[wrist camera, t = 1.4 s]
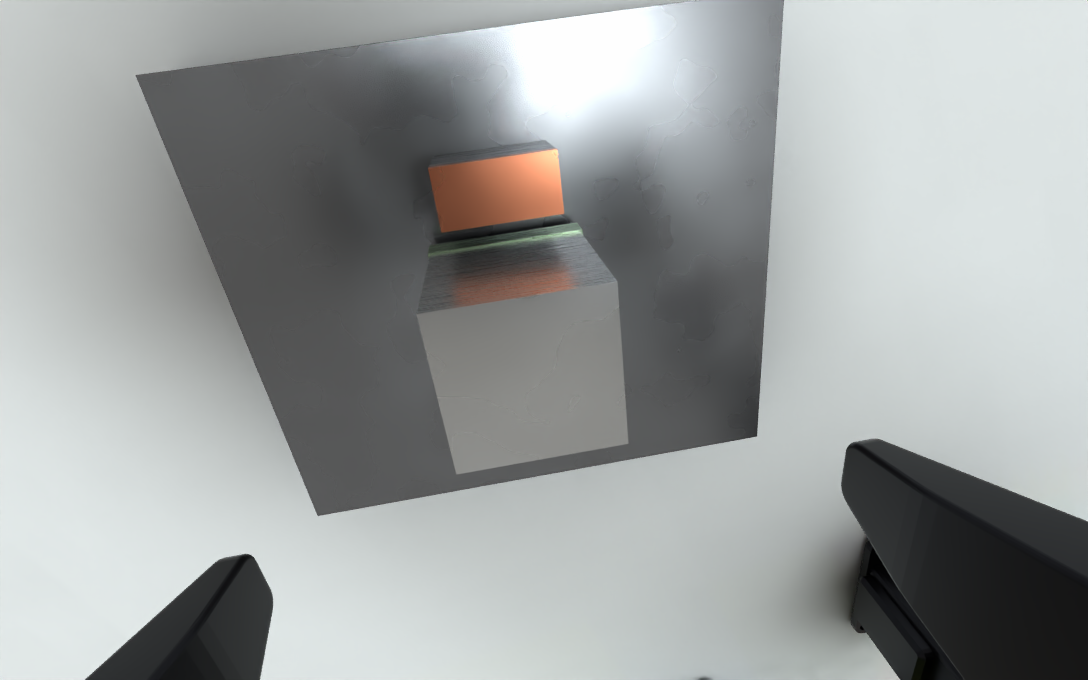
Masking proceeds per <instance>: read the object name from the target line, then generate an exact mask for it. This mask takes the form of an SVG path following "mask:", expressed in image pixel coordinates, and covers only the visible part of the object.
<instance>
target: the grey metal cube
mask: <svg viewBox="0 0 1088 680" xmlns="http://www.w3.org/2000/svg"><path fill="white" fill-rule="evenodd" d="M428 257H429V262H428V266H427V270H426V275H425V279H424V283H423V288H422V292H421V296H420V301H419V305H418V309H417V314H416V315H417V319H418V323H419V327H420V331H421V335H422V339H423V343H424V347H425V351H426V355H427V359H428V363H429V367H430V371H431V375H432V379H433V383H434V387H435V391H436V395H437V399H438V403H439V407H440V411H441V415H442V419H443V423H444V427H445V431H446V435H447V439H448V443H449V447H450V451H451V455H452V459H453V463H454V467H455V471H456V475H457V474H462V473H468V472H474V471H479V470H485V469H490V468H496V467H501V466H507V465H513V464H518V463H524V462H529V461H535V460H540V459H546V458H552V457H557V456H563V455H568V454H574V453H579V452H585V451H591V450H596V449H602V448H607V447H613V446H618V445H624V444H628V430H627V415H626V401H625V386H624V371H623V357H622V342H621V327H620V313H619V298H618V283H617V280H616V279H615V278H614V276H613V275H612V274H611V272H610V271H609V270H608V268H607V267H606V265H605V264H604V263H603V261H602V260H601V259H600V257H599V256H598V255H597V253H596V252H595V250H594V249H593V248H592V246H591V245H590V244H589V242H588V241H587V240H586V238H585V237H584V235H583V231H582V228H581V227H580V226H579V224H578V223H577V222H576V223H569V224H563V225H556V226H550V227H543V228H537V229H530V230H524V231H518V232H511V233H505V234H498V235H492V236H485V237H479V238H473V239H466V240H460V241H453V242H447V243H440V244H434V245H430V246H429V250H428Z"/></svg>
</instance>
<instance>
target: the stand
mask: <svg viewBox="0 0 1088 680" xmlns="http://www.w3.org/2000/svg"><path fill="white" fill-rule="evenodd" d="M783 5H784V0H695V1H687V2H680V3H672V4H665V5H657V6H650V7H642V8H635V9H627V10H620V11H613V12H605V13H598V14H590V15H583V16H575V17H568V18H560V19H553V20H545V21H538V22H530V23H523V24H515V25H508V26H500V27H493V28H486V29H478V30H471V31H463V32H456V33H448V34H441V35H433V36H426V37H418V38H411V39H403V40H396V41H388V42H381V43H374V44H366V45H359V46H351V47H344V48H336V49H329V50H321V51H314V52H306V53H299V54H291V55H284V56H276V57H269V58H262V59H254V60H247V61H239V62H232V63H224V64H217V65H209V66H202V67H194V68H187V69H179V70H172V71H164V72H157V73H150V74H142V75H136V77H137V80H138V82H139V84H140V87H141V89H142V92H143V94H144V97H145V99H146V101H147V104H148V106H149V109H150V111H151V114H152V116H153V118H154V121H155V123H156V126H157V128H158V130H159V133H160V135H161V138H162V140H163V143H164V145H165V147H166V150H167V152H168V155H169V157H170V159H171V162H172V164H173V167H174V169H175V172H176V174H177V176H178V179H179V181H180V184H181V186H182V189H183V191H184V193H185V196H186V198H187V201H188V203H189V205H190V208H191V210H192V213H193V215H194V218H195V220H196V222H197V225H198V227H199V230H200V232H201V234H202V237H203V239H204V242H205V244H206V247H207V249H208V251H209V254H210V256H211V259H212V261H213V264H214V266H215V268H216V271H217V273H218V276H219V278H220V280H221V283H222V285H223V288H224V290H225V293H226V295H227V297H228V300H229V302H230V305H231V307H232V309H233V312H234V314H235V317H236V319H237V322H238V324H239V326H240V329H241V331H242V334H243V336H244V338H245V341H246V343H247V346H248V348H249V351H250V353H251V355H252V358H253V360H254V363H255V365H256V368H257V370H258V372H259V375H260V377H261V380H262V382H263V384H264V387H265V389H266V392H267V394H268V397H269V399H270V401H271V404H272V406H273V409H274V411H275V413H276V416H277V418H278V421H279V423H280V426H281V428H282V430H283V433H284V435H285V438H286V440H287V443H288V445H289V447H290V450H291V452H292V455H293V457H294V459H295V462H296V464H297V467H298V469H299V472H300V474H301V476H302V479H303V481H304V484H305V486H306V488H307V491H308V493H309V496H310V498H311V501H312V503H313V505H314V508H315V510H316V513H317V515H318V516H320V515H326V514H331V513H337V512H342V511H348V510H353V509H359V508H364V507H370V506H375V505H381V504H386V503H392V502H397V501H403V500H408V499H414V498H420V497H425V496H431V495H436V494H442V493H447V492H453V491H458V490H464V489H469V488H475V487H480V486H486V485H491V484H497V483H502V482H508V481H513V480H519V479H524V478H530V477H535V476H541V475H547V474H552V473H558V472H563V471H569V470H574V469H580V468H585V467H591V466H596V465H602V464H607V463H613V462H618V461H624V460H629V459H635V458H640V457H646V456H651V455H657V454H662V453H668V452H674V451H679V450H685V449H690V448H696V447H701V446H707V445H712V444H718V443H723V442H729V441H734V440H740V439H745V438H751V437H756V436H757V427H758V410H759V394H760V378H761V362H762V346H763V329H764V313H765V297H766V281H767V265H768V248H769V232H770V216H771V200H772V184H773V167H774V151H775V135H776V119H777V103H778V86H779V70H780V54H781V38H782V22H783ZM576 222H577V223H578V224H579V226H580V227H581V228H582V231H583V235H584V237H585V238H586V240H587V241H588V242H589V244H590V245H591V246H592V248H593V249H594V250H595V252H596V253H597V255H598V256H599V257H600V259H601V260H602V261H603V263H604V264H605V265H606V267H607V268H608V270H609V271H610V272H611V274H612V275H613V276H614V278H615V279H616V280H617V283H618V298H619V313H620V327H621V342H622V357H623V371H624V386H625V401H626V415H627V430H628V444H624V445H618V446H613V447H607V448H602V449H596V450H591V451H585V452H579V453H574V454H568V455H563V456H557V457H552V458H546V459H540V460H535V461H529V462H524V463H518V464H513V465H507V466H501V467H496V468H490V469H485V470H479V471H474V472H468V473H462V474H457V475H456V471H455V467H454V463H453V459H452V455H451V451H450V447H449V443H448V439H447V435H446V431H445V427H444V423H443V419H442V415H441V411H440V407H439V403H438V399H437V395H436V391H435V387H434V383H433V379H432V375H431V371H430V367H429V363H428V359H427V355H426V351H425V347H424V343H423V339H422V335H421V331H420V327H419V323H418V319H417V315H416V314H417V309H418V305H419V301H420V296H421V292H422V288H423V283H424V279H425V275H426V270H427V266H428V262H429V257H428V250H429V246H430V245H434V244H440V243H447V242H453V241H460V240H466V239H473V238H479V237H485V236H492V235H498V234H505V233H511V232H518V231H524V230H530V229H537V228H543V227H550V226H556V225H563V224H569V223H576Z"/></svg>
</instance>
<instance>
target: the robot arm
mask: <svg viewBox="0 0 1088 680" xmlns="http://www.w3.org/2000/svg"><path fill="white" fill-rule="evenodd" d="M841 487H842V493H843V496H844V498H845V500H846V502H847V504H848V506H849V507H850V509H851V511H852V512H853V514H854V516H855V517H856V519H857V521H858V522H859V524H860V526H861V528H862V529H863V531H864V533H865V534H866V536H867V538H868V539H869V541H868V542H867V543H866V545H865V549H864V554H863V559H862V565H861V570H860V575H859V580H858V585H857V591H856V596H855V601H854V606H853V612H852V617H851V625H852V626H853V628H854V629H855V631H856V632H857V633H867V634H868V635H869V637H870V638H871V640H872V641H873V642H874V644H875V645H876V646H877V648H878V649H879V651H880V652H881V653H882V655H883V656H884V658H885V659H886V660H887V662H888V663H889V665H890V666H891V667H892V669H893V670H894V672H895V673H896V674H897V676H898V677H899V678H900V680H1088V521H1085V520H1083V519H1080V518H1078V517H1075V516H1073V515H1070V514H1067V513H1065V512H1062V511H1060V510H1057V509H1055V508H1052V507H1050V506H1047V505H1045V504H1042V503H1040V502H1037V501H1035V500H1032V499H1030V498H1027V497H1024V496H1022V495H1019V494H1017V493H1014V492H1012V491H1009V490H1007V489H1004V488H1002V487H999V486H997V485H994V484H992V483H989V482H986V481H984V480H981V479H979V478H976V477H974V476H971V475H969V474H966V473H964V472H961V471H959V470H956V469H954V468H951V467H948V466H946V465H943V464H941V463H938V462H936V461H933V460H931V459H928V458H926V457H923V456H921V455H918V454H916V453H913V452H911V451H908V450H905V449H903V448H900V447H898V446H895V445H893V444H890V443H888V442H885V441H883V440H880V439H869V440H863V441H858V442H853V443H851V444H850V445H849V446H848V447H847V450H846V455H845V462H844V468H843V475H842V482H841ZM272 611H273V596H272V592H271V589H270V587H269V585H268V583H267V581H266V579H265V577H264V575H263V574H262V572H261V570H260V568H259V566H258V564H257V562H256V560H255V558H254V557H252V556H251V555H249V554H242V555H237V556H232V557H226V558H223V559H220V560H218V561H217V562H215V563H214V564H213V565H212V566H211V567H210V568H208V569H207V570H206V571H205V572H204V573H203V574H202V575H201V576H200V577H198V578H197V579H196V580H195V581H194V582H193V583H192V584H191V585H190V586H188V587H187V588H186V589H185V590H184V591H183V592H182V593H181V594H180V595H178V596H177V597H176V598H175V599H174V600H173V601H172V602H171V603H170V604H168V605H167V606H166V607H165V608H164V609H163V610H162V611H161V612H160V613H158V614H157V615H156V616H155V617H154V618H153V619H152V620H151V621H150V622H148V623H147V624H146V625H145V626H144V627H143V628H142V629H141V630H140V631H138V632H137V633H136V634H135V635H134V636H133V637H132V638H131V639H130V640H128V641H127V642H126V643H125V644H124V645H123V646H122V647H121V648H120V649H118V650H117V651H116V652H115V653H114V654H113V655H112V656H111V657H110V658H108V659H107V660H106V661H105V662H104V663H103V664H102V665H101V666H100V667H98V668H97V669H96V670H95V671H94V672H93V673H92V674H91V675H90V676H88V677H87V678H86V679H85V680H260V676H261V671H262V665H263V660H264V655H265V649H266V644H267V638H268V633H269V627H270V622H271V616H272Z"/></svg>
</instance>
